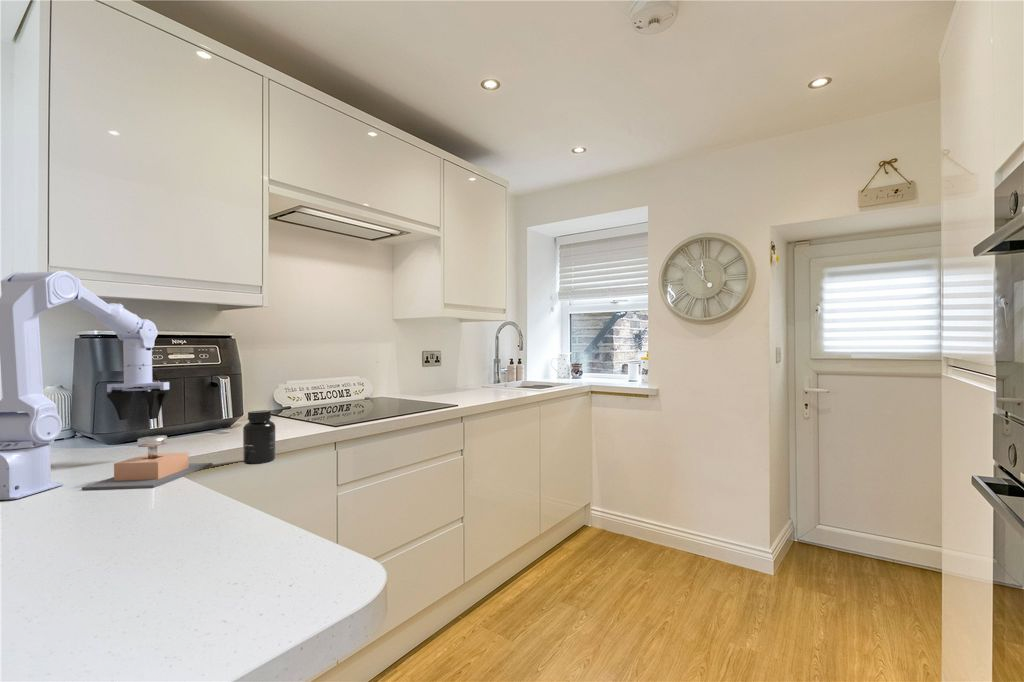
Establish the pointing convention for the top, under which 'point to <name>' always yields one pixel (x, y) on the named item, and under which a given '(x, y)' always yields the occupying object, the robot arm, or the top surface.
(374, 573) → the top surface
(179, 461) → the tan rectangular brick
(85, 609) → the top surface
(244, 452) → the supplement bottle
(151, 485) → the mat
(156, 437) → the plunger
